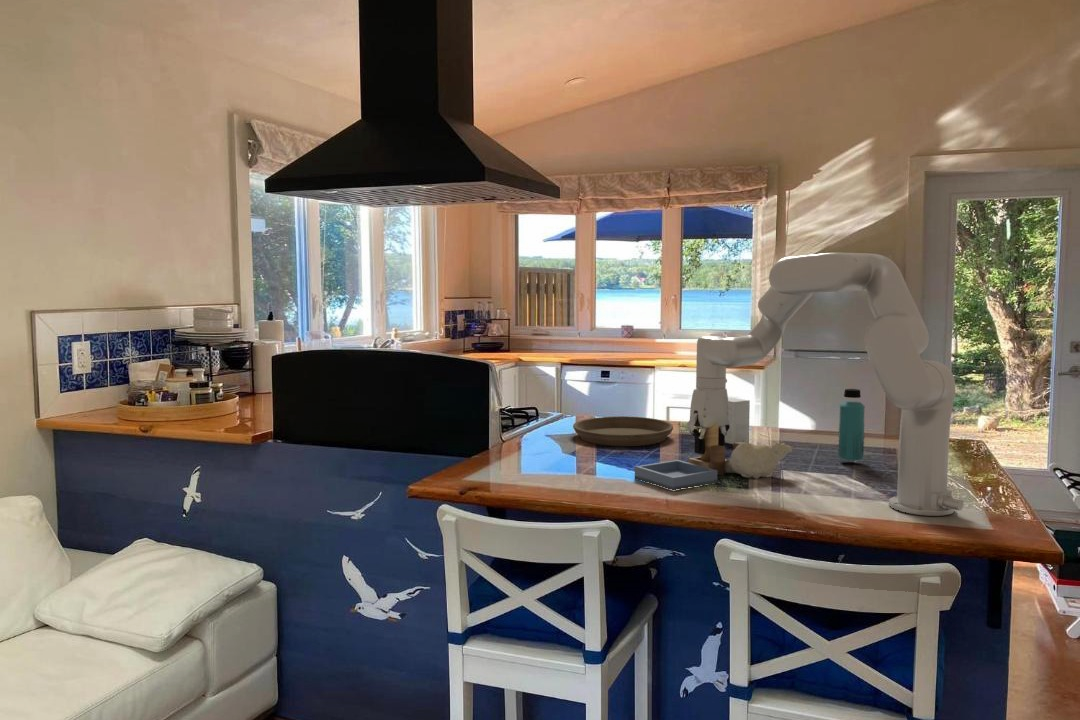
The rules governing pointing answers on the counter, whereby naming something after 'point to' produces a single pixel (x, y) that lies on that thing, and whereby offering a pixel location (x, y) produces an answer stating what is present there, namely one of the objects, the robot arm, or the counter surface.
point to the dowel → (710, 441)
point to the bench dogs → (719, 457)
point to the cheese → (756, 459)
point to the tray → (676, 474)
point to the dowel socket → (699, 462)
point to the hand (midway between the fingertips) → (709, 451)
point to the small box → (738, 421)
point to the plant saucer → (623, 430)
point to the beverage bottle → (851, 427)
